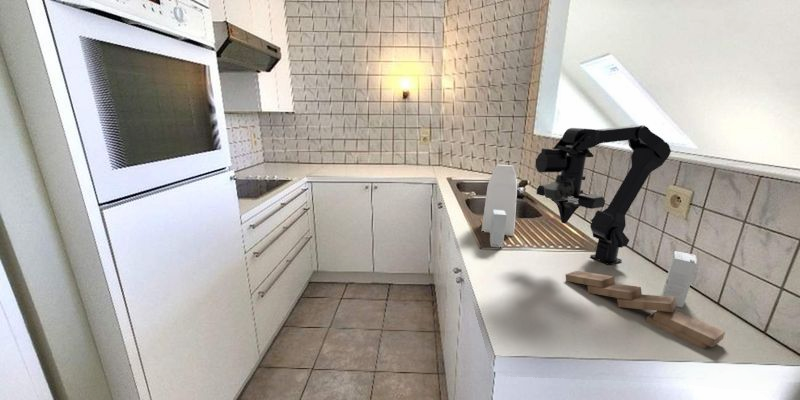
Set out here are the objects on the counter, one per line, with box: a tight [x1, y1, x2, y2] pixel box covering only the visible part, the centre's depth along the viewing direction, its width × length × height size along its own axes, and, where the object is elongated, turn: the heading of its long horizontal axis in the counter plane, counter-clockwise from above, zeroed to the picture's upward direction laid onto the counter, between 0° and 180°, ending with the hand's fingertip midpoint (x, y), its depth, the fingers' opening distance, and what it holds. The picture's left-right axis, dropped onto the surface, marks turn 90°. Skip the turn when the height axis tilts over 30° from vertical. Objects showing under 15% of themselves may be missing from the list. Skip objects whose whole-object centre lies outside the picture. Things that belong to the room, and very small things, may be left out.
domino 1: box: [565, 270, 615, 288], centre depth 85 cm, size 5×2×10 cm
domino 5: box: [653, 309, 726, 348], centre depth 67 cm, size 5×2×10 cm
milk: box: [481, 164, 518, 237], centre depth 125 cm, size 12×12×26 cm
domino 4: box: [645, 312, 709, 350], centre depth 68 cm, size 5×2×10 cm
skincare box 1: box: [489, 210, 507, 248], centre depth 111 cm, size 6×4×12 cm
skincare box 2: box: [661, 250, 698, 308], centre depth 78 cm, size 6×4×12 cm
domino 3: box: [616, 294, 677, 312], centre depth 74 cm, size 5×2×10 cm
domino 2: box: [586, 282, 643, 300], centre depth 79 cm, size 5×2×10 cm
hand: (563, 222), depth 96 cm, fingers closed
